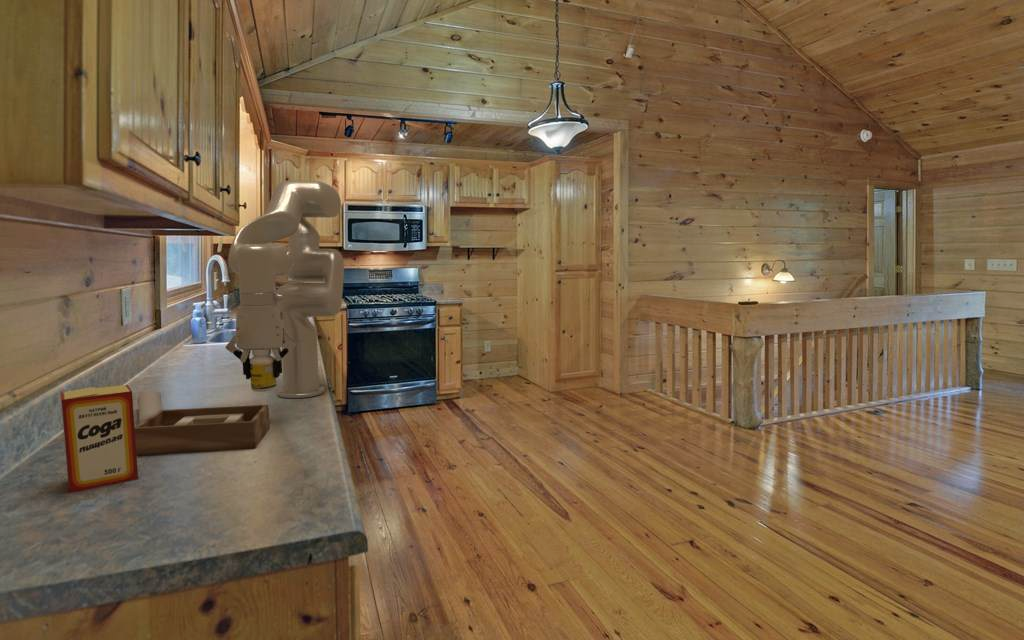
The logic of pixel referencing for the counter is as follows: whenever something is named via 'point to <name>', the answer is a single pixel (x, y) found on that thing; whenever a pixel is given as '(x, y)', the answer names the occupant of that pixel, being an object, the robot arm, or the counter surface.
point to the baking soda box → (99, 436)
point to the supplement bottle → (262, 371)
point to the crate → (202, 430)
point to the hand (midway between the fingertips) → (263, 376)
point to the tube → (148, 404)
